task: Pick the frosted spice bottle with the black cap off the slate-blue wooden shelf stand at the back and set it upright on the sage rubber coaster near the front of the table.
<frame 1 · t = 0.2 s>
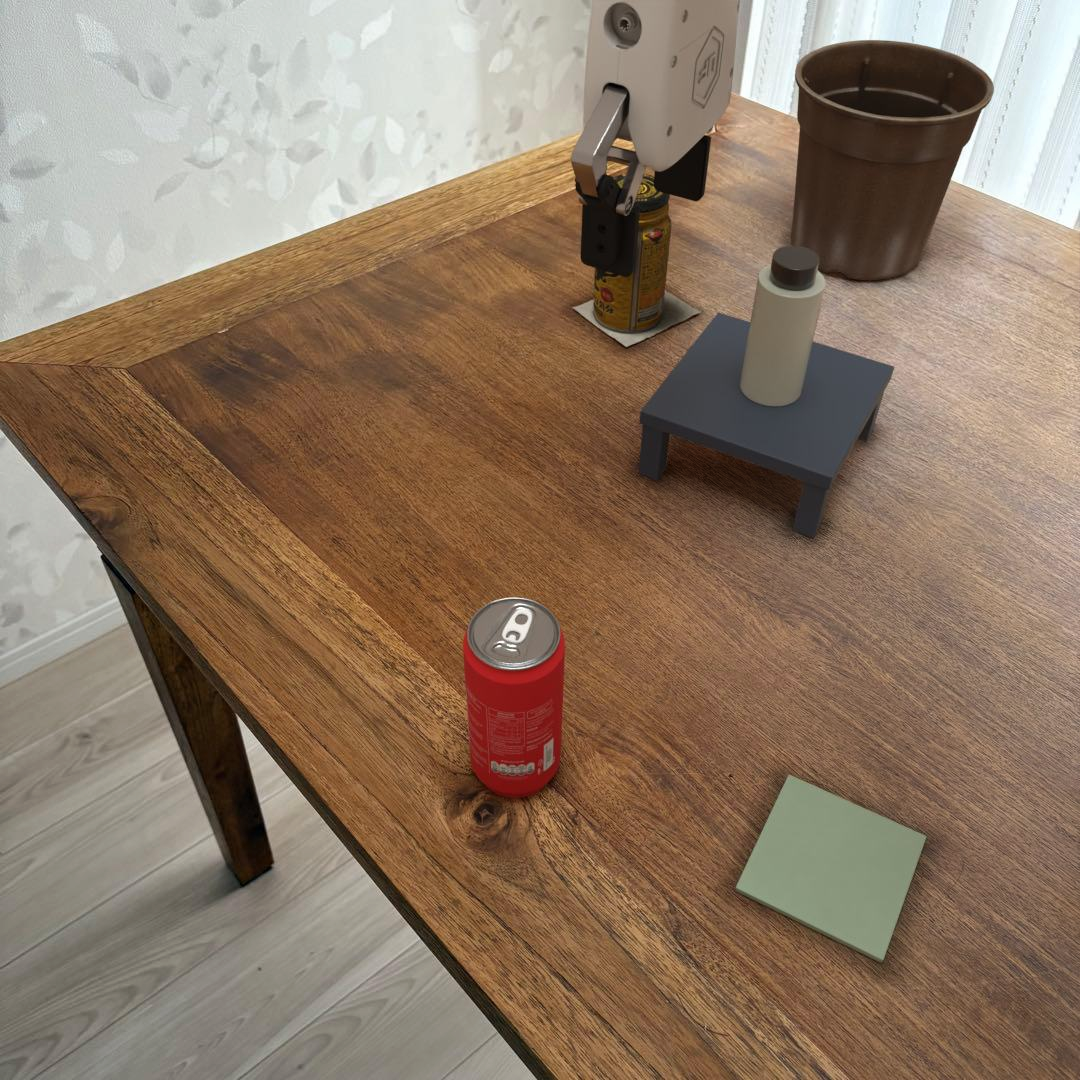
hand: (644, 229, 66), 21 cm above the table, tool pointing down, fingers open, 9 cm apart
spice bottle: (770, 387, 79), point 6 cm above the table, touching shelf
coaster: (831, 864, 60), on the table
shelf: (758, 451, 84), on the table
beverage can: (515, 767, 64), on the table
plant pot: (852, 248, 105), on the table
condiment: (636, 314, 97), on the table
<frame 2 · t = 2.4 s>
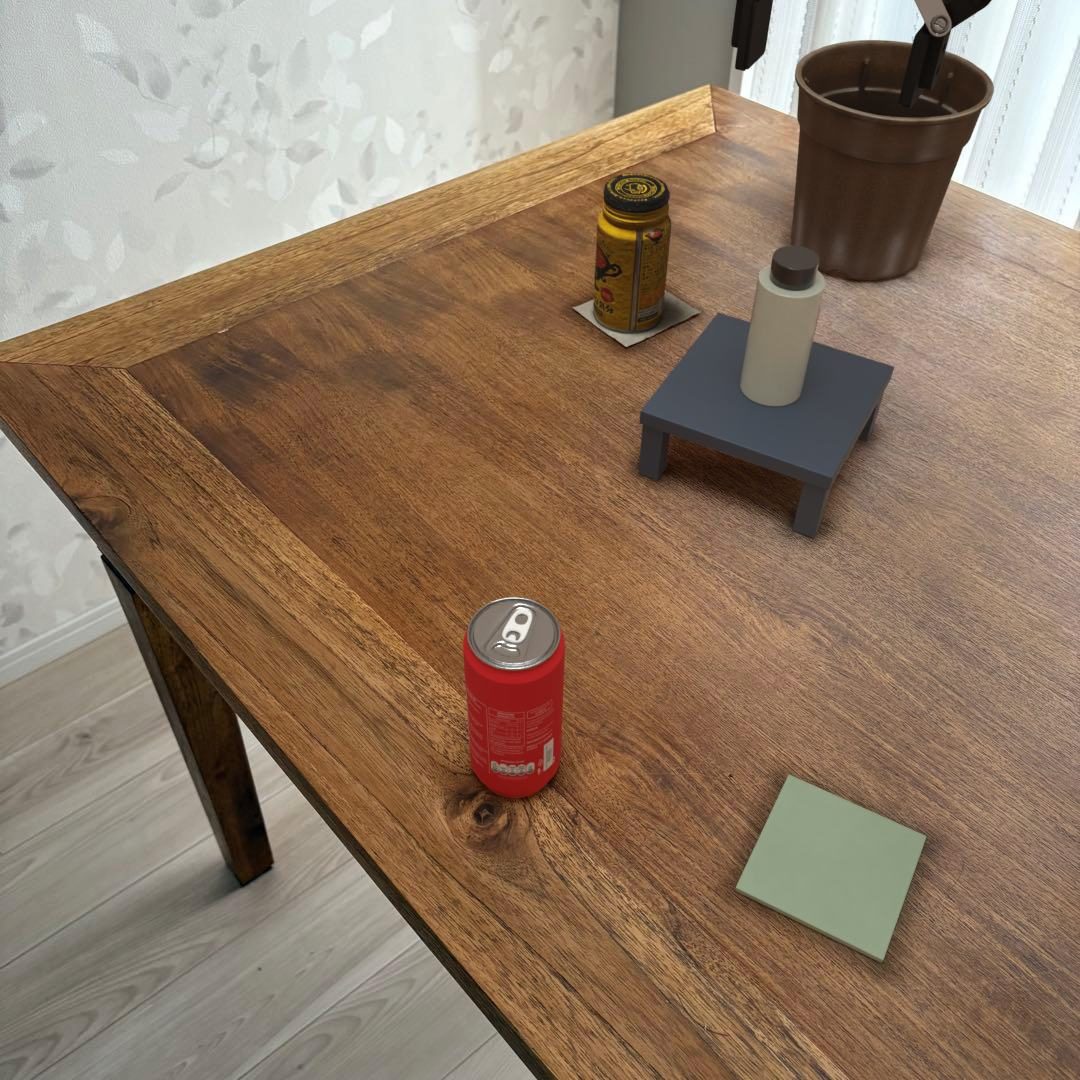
hand: (828, 80, 64), 28 cm above the table, tool pointing down, fingers open, 9 cm apart
nothing on the table moved.
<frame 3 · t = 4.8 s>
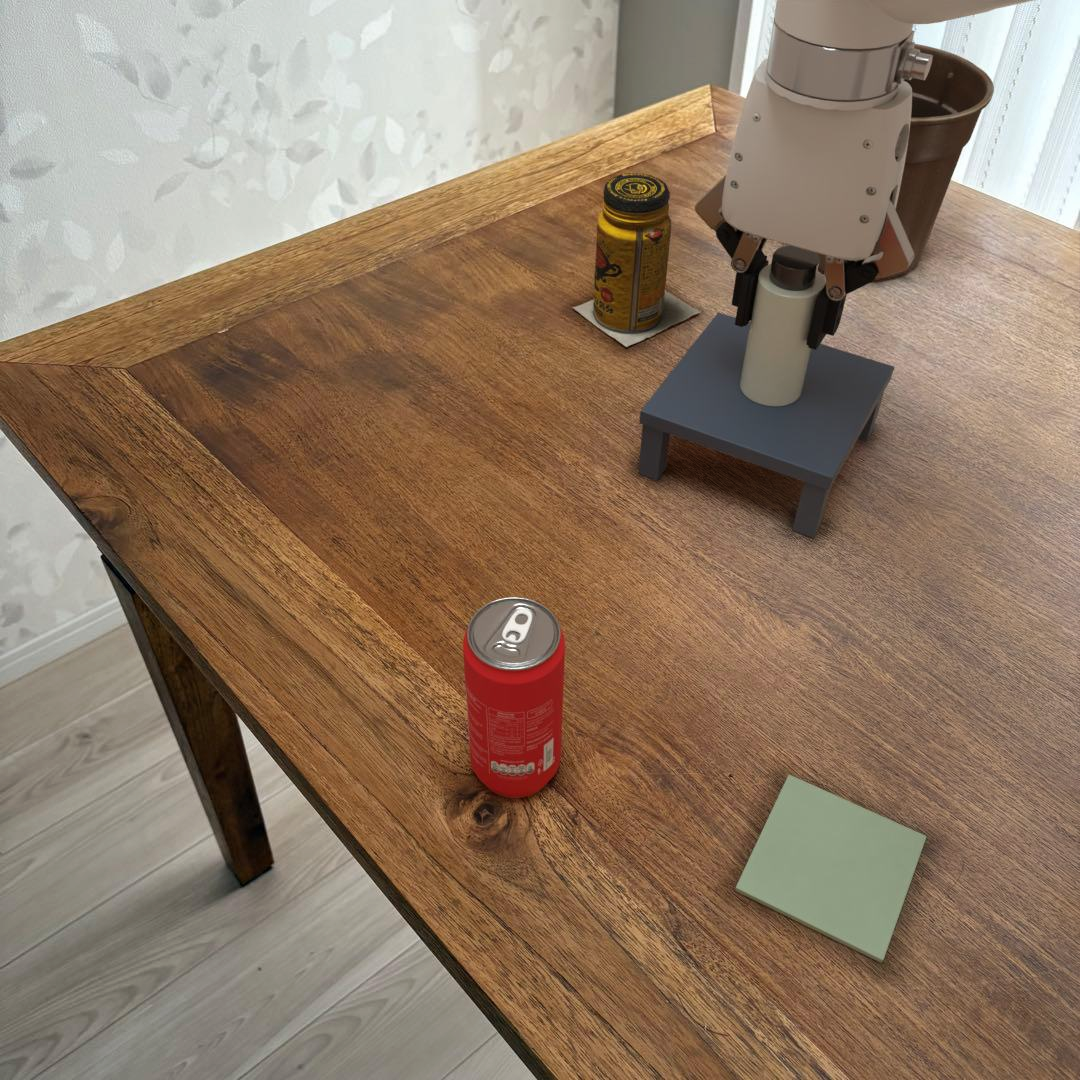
hand: (782, 325, 76), 11 cm above the table, tool pointing down, fingers closed on spice bottle, 4 cm apart
spice bottle: (770, 387, 79), point 6 cm above the table, touching gripper, shelf
everything else where it was.
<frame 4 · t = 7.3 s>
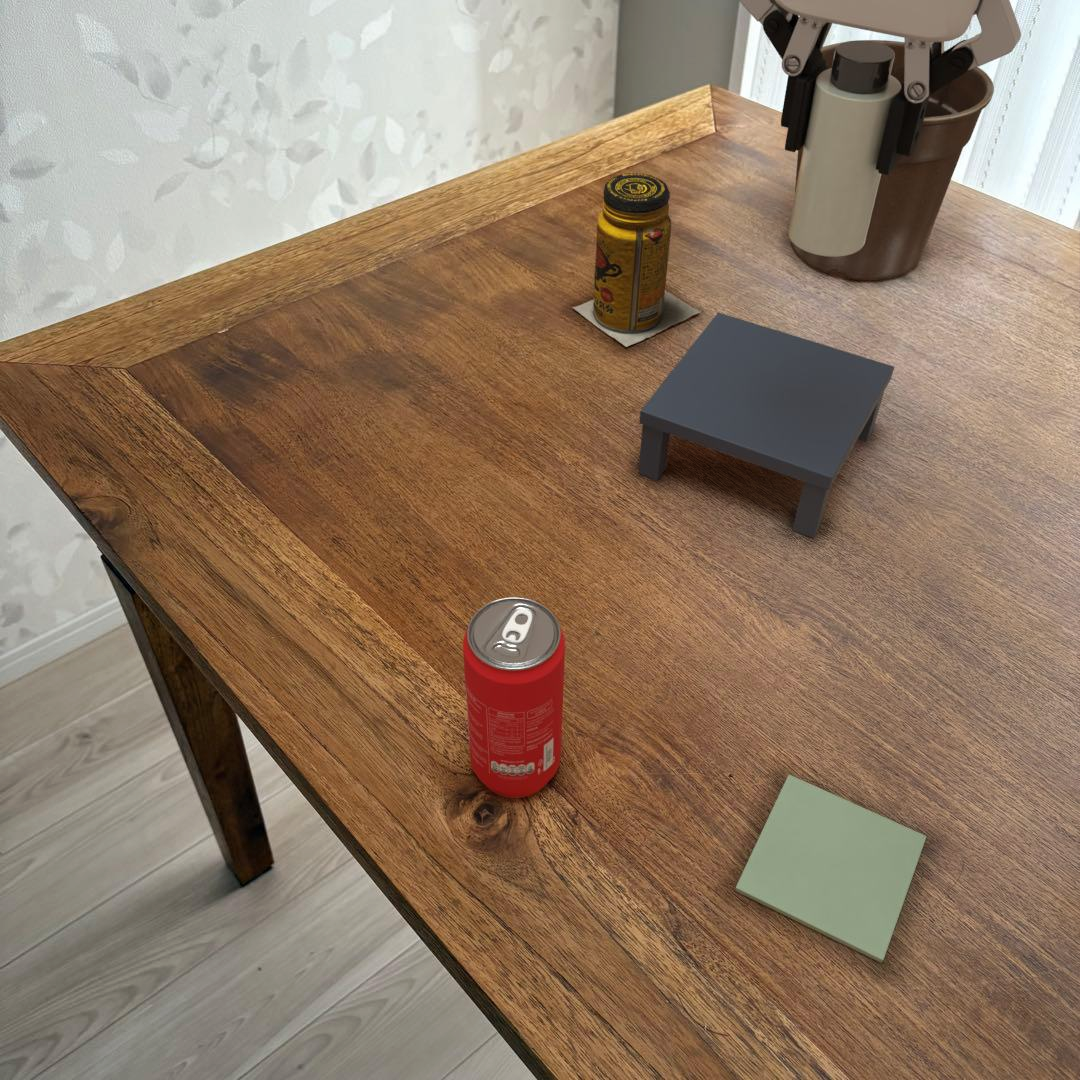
hand: (844, 149, 61), 27 cm above the table, tool pointing down, fingers closed on spice bottle, 4 cm apart
spice bottle: (826, 237, 64), point 21 cm above the table, touching gripper
everything else where it was.
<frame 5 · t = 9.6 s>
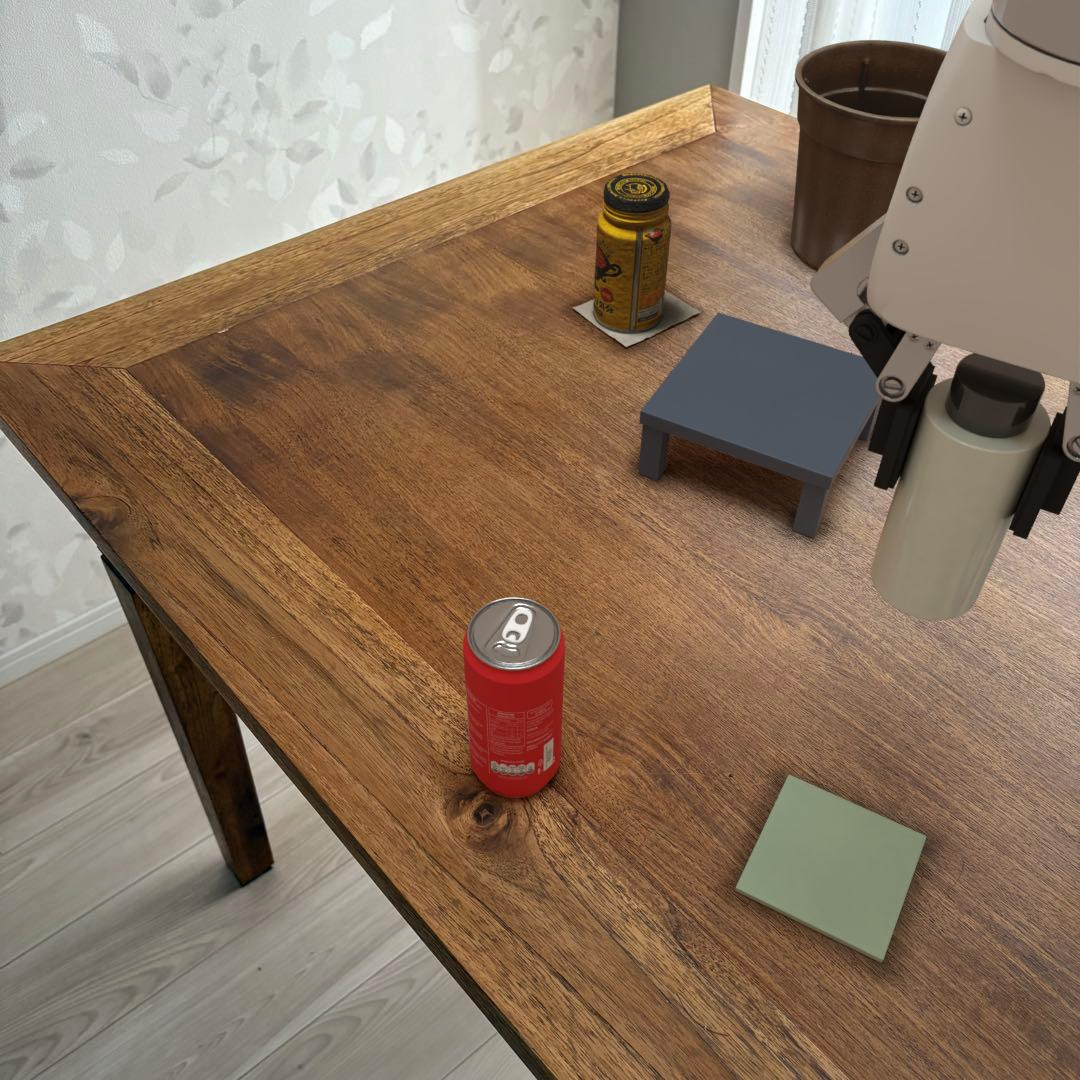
hand: (959, 487, 42), 26 cm above the table, tool pointing down, fingers closed on spice bottle, 4 cm apart
spice bottle: (923, 581, 46), point 21 cm above the table, touching gripper
everything else where it was.
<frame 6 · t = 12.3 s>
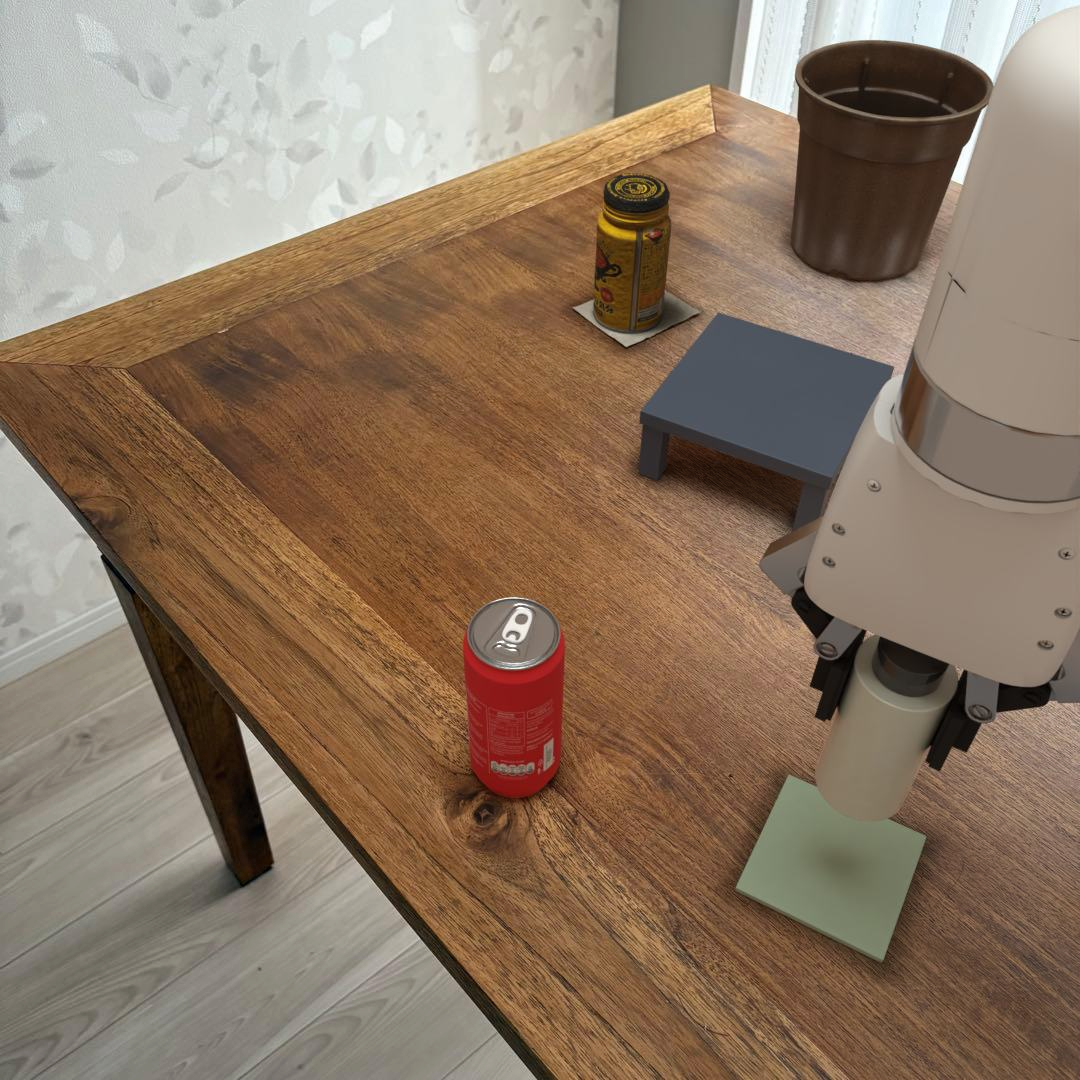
hand: (886, 718, 50), 13 cm above the table, tool pointing down, fingers closed on spice bottle, 4 cm apart
spice bottle: (860, 782, 54), point 8 cm above the table, touching gripper
everything else where it was.
when the fingers open (6 cm above the table, at t = 14.4 s): spice bottle stays where it is, resting on coaster.
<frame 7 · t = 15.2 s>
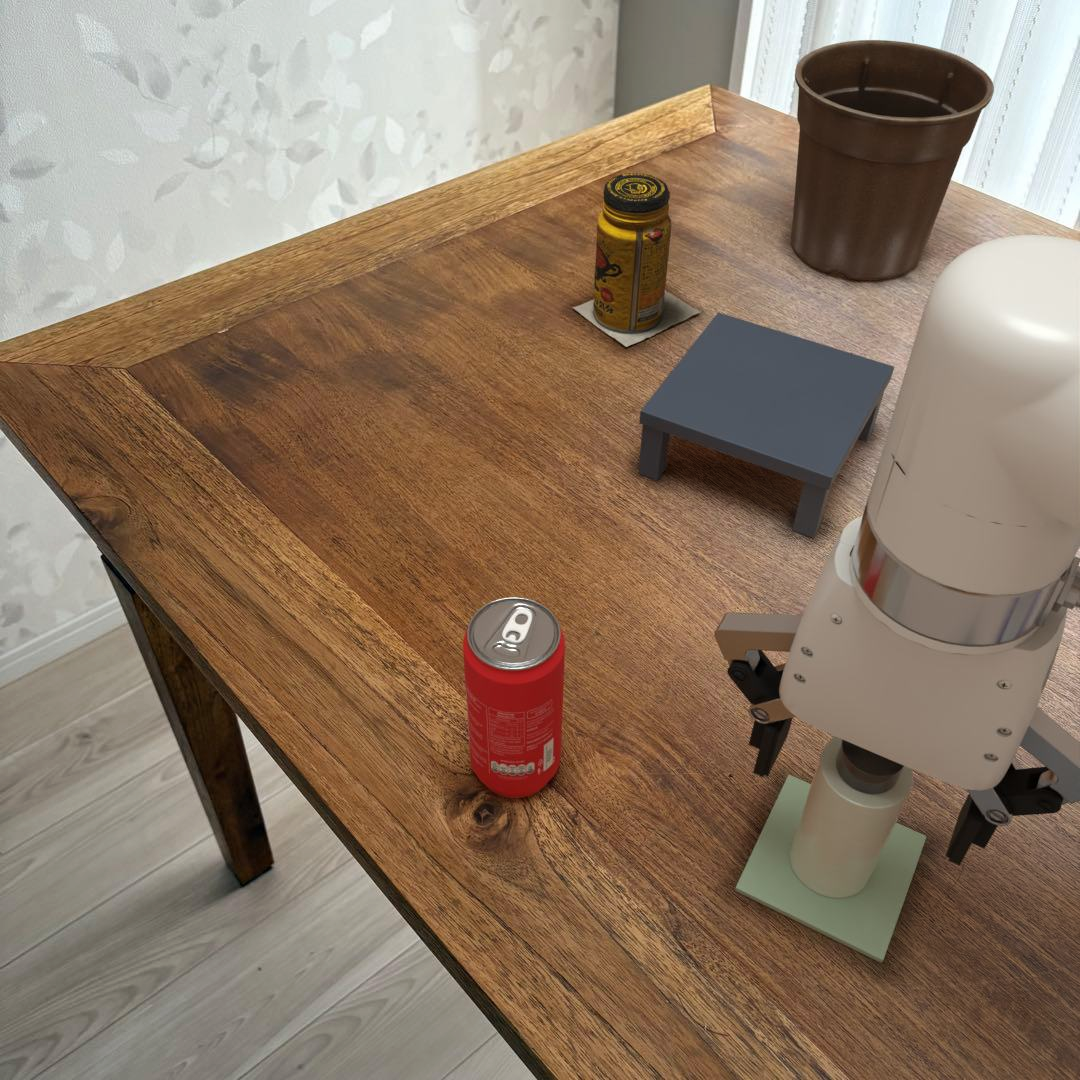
hand: (862, 795, 55), 7 cm above the table, tool pointing down, fingers open, 9 cm apart
spice bottle: (830, 860, 60), resting on coaster
everything else where it was.
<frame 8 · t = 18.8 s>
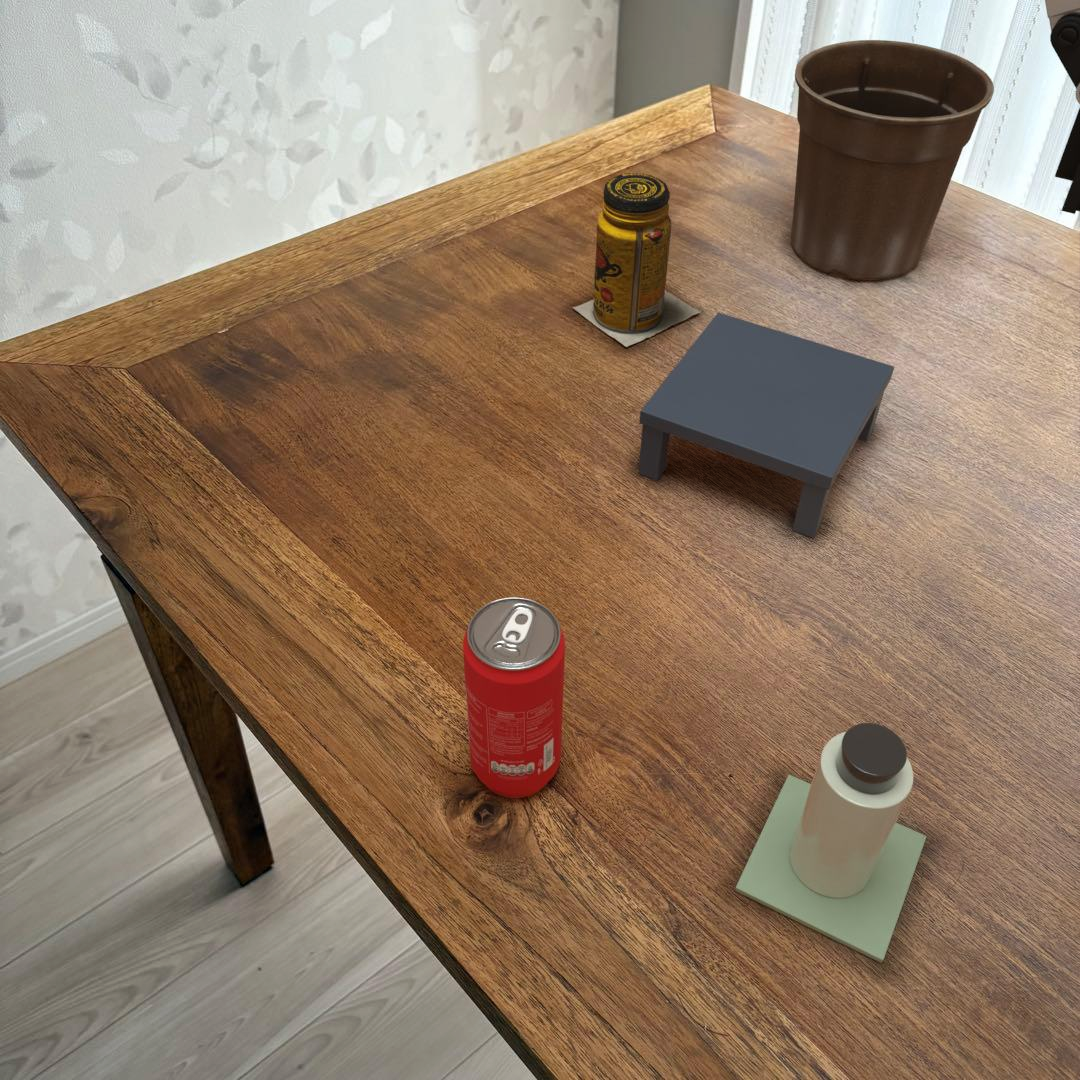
nothing on the table moved.
at the end: spice bottle 0.1 cm off-centre on the coaster, point 0.4 cm above the coaster's base; spice bottle tilted 0°; spice bottle touching coaster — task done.
